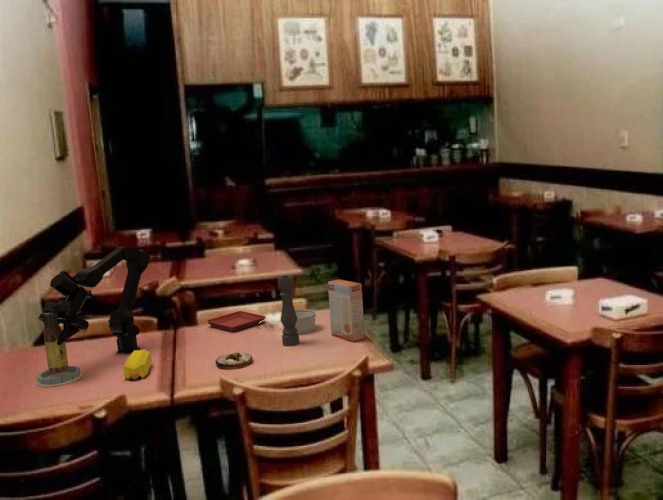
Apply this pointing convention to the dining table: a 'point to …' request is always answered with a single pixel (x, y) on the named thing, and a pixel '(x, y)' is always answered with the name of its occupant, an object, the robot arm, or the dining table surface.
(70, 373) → the ring collar
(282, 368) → the dining table surface
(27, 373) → the dining table surface
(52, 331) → the sauce bottle
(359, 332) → the cracker box
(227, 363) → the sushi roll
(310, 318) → the ramekin
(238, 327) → the plant saucer
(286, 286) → the candle holder
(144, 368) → the yellow faceted rock
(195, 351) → the dining table surface
